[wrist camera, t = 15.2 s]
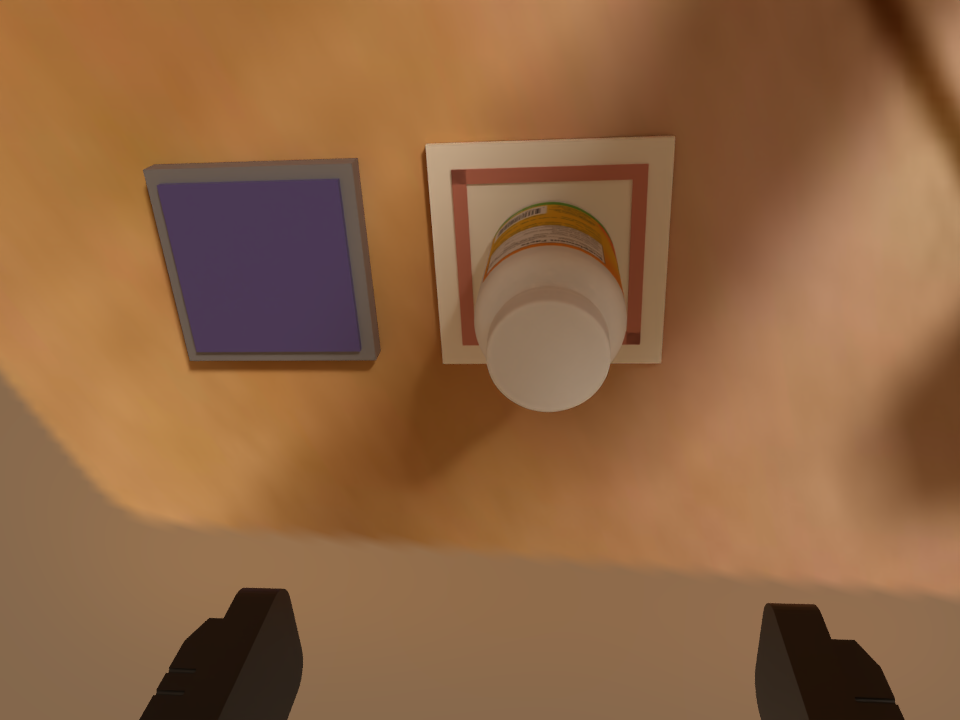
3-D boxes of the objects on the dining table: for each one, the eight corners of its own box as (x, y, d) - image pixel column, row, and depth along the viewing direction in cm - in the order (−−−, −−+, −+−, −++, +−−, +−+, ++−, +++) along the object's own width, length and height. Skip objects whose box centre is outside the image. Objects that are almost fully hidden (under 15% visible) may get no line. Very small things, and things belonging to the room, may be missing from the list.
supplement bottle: (589, 331, 34) (598, 451, 25) (474, 295, 34) (444, 404, 25) (634, 219, 32) (661, 310, 23) (510, 180, 31) (491, 257, 23)
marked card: (674, 135, 30) (675, 137, 30) (660, 359, 35) (661, 364, 34) (427, 143, 31) (425, 145, 31) (444, 360, 36) (442, 364, 35)
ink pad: (357, 158, 32) (349, 165, 31) (380, 350, 36) (374, 363, 35) (154, 164, 33) (139, 171, 32) (198, 351, 37) (187, 363, 36)
